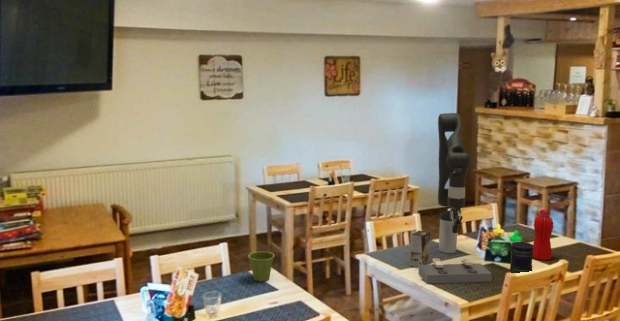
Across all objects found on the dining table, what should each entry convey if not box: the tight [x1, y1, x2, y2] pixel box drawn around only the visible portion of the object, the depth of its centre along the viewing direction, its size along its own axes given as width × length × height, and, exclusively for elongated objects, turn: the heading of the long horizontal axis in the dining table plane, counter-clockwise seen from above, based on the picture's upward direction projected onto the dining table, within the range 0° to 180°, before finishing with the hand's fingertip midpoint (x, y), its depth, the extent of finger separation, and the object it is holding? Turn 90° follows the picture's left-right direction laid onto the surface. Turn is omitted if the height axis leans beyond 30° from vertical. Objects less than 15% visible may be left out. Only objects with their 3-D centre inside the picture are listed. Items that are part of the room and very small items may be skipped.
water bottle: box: [532, 209, 554, 261], centre depth 308 cm, size 9×11×25 cm
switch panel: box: [418, 262, 493, 285], centre depth 281 cm, size 14×30×4 cm, turn 96°
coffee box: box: [409, 230, 431, 268], centre depth 298 cm, size 9×6×16 cm
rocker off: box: [432, 258, 444, 268], centre depth 283 cm, size 7×3×1 cm, turn 6°
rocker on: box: [460, 258, 474, 265], centre depth 285 cm, size 7×3×1 cm, turn 6°
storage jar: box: [509, 241, 534, 273], centre depth 283 cm, size 10×10×15 cm
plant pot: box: [247, 251, 275, 282], centre depth 276 cm, size 12×12×11 cm
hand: (454, 232), depth 280 cm, fingers closed
